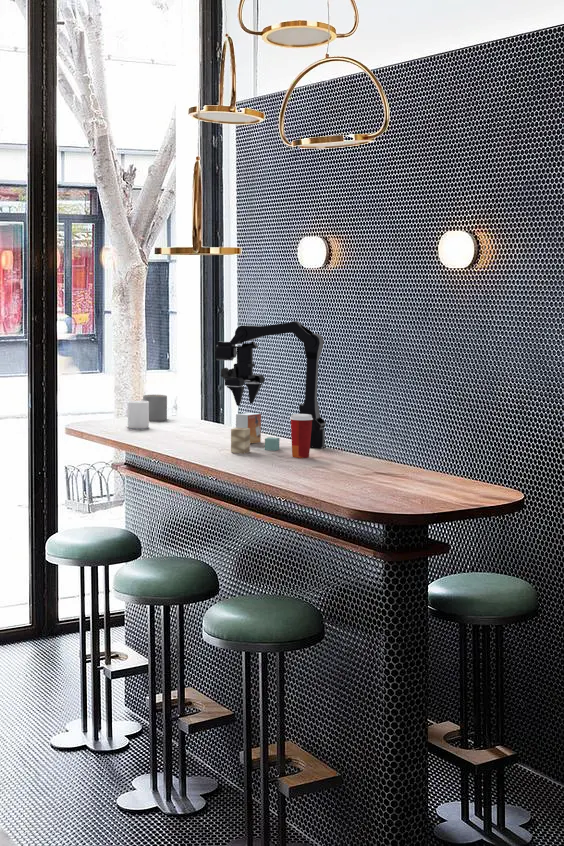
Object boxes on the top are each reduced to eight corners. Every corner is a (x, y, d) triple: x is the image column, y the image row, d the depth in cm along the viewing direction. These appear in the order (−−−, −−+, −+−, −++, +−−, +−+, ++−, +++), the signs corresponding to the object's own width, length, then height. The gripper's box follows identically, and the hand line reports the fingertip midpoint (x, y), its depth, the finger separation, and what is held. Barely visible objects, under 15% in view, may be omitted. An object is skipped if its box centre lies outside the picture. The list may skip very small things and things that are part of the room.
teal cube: (279, 449, 373) (279, 437, 372) (275, 450, 369) (275, 439, 369) (268, 448, 374) (268, 437, 374) (264, 450, 370) (264, 438, 370)
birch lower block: (249, 451, 366) (249, 439, 366) (244, 453, 361) (244, 441, 361) (236, 450, 368) (236, 439, 367) (230, 452, 363) (231, 440, 362)
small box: (247, 444, 382) (247, 415, 381) (235, 443, 385) (235, 413, 384) (261, 442, 388) (261, 413, 387) (249, 440, 392) (249, 412, 390)
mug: (118, 426, 426) (118, 400, 425) (136, 424, 431) (136, 399, 430) (134, 429, 417) (134, 403, 416) (152, 428, 422) (152, 402, 421)
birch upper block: (249, 439, 366) (250, 428, 365) (244, 441, 361) (245, 430, 360) (236, 439, 367) (236, 427, 367) (230, 440, 362) (231, 429, 362)
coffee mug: (171, 420, 449) (171, 396, 448) (150, 421, 443) (150, 397, 442) (154, 416, 460) (154, 393, 458) (134, 418, 453) (134, 394, 452)
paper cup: (314, 455, 359) (315, 414, 357) (309, 459, 351) (309, 416, 350) (292, 454, 361) (292, 413, 359) (286, 457, 353) (286, 415, 352)
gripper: (238, 358, 394) (238, 401, 396) (211, 361, 378) (211, 405, 380) (265, 359, 389) (265, 402, 391) (238, 362, 372) (238, 407, 374)
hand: (244, 404), depth 384 cm, fingers open, 9 cm apart
